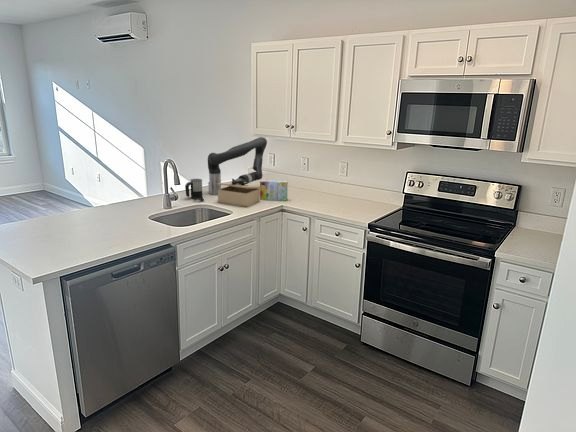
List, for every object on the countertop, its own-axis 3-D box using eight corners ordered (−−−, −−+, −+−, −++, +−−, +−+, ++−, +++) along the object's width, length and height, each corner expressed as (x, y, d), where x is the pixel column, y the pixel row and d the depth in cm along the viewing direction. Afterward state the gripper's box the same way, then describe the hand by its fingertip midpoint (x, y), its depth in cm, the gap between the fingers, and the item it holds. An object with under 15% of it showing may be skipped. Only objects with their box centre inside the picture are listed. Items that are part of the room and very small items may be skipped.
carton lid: (217, 184, 290) (217, 182, 290) (231, 184, 308) (231, 183, 308) (246, 188, 279) (247, 186, 279) (260, 188, 297) (260, 187, 297)
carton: (218, 202, 294) (217, 189, 291) (232, 197, 310) (232, 185, 308) (246, 207, 284) (246, 193, 281) (259, 201, 300) (259, 188, 297)
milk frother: (196, 196, 311) (195, 178, 307) (212, 199, 304) (211, 180, 300) (184, 199, 300) (182, 181, 295) (199, 202, 292) (198, 183, 288)
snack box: (287, 199, 309) (287, 180, 304) (286, 201, 303) (287, 182, 299) (261, 198, 311) (261, 179, 306) (259, 199, 305) (259, 181, 301)
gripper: (237, 173, 302) (224, 177, 287) (252, 175, 296) (240, 179, 281) (237, 183, 304) (225, 187, 289) (252, 185, 299) (240, 189, 284)
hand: (232, 183), depth 285 cm, fingers closed
